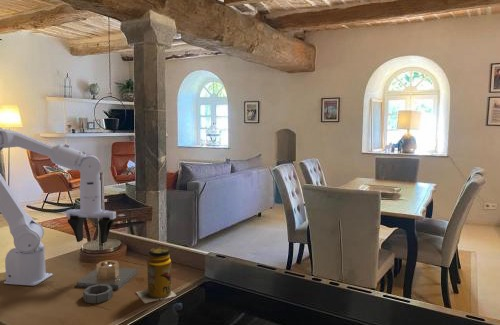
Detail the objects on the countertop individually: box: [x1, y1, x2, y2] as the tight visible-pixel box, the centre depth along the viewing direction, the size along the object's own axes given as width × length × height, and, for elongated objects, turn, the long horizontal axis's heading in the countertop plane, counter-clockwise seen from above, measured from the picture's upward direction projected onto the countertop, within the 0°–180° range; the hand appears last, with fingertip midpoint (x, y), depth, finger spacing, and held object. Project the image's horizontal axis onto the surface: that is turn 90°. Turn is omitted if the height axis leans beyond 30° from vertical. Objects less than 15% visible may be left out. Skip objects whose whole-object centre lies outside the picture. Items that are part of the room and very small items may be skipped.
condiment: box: [135, 246, 177, 304], centre depth 102 cm, size 7×8×12 cm
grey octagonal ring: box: [82, 284, 114, 304], centre depth 101 cm, size 7×7×2 cm
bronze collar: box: [95, 259, 120, 280], centre depth 111 cm, size 6×6×3 cm
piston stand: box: [76, 264, 138, 291], centre depth 112 cm, size 12×12×4 cm
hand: (91, 241), depth 116 cm, fingers open, 7 cm apart
